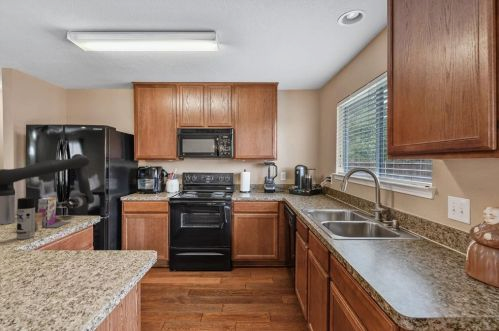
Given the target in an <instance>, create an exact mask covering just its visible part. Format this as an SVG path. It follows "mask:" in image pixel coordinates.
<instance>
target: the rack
mask: <svg viewBox="0 0 499 331" xmlns="http://www.w3.org/2000/svg"><path fill="white" fill-rule="evenodd" d="M62 220H63V218H62V217H56V221H55V223H57V222H63V221H62ZM55 223H54V224H55ZM36 232H38V224H35V233H36Z"/></svg>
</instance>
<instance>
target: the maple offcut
mask: <svg viewBox="0 0 499 331" xmlns="http://www.w3.org/2000/svg"><path fill="white" fill-rule="evenodd" d="M35 224H38V230H41V228H42V229H43V227H42V221H39V222H36V223H35Z"/></svg>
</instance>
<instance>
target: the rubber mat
mask: <svg viewBox="0 0 499 331" xmlns="http://www.w3.org/2000/svg"><path fill="white" fill-rule="evenodd" d="M70 223H71V221H62V222H57V223H54V224H52V225H49V226H46V227H44V229H59V228H60V227H63V226H65V225H68V224H70Z"/></svg>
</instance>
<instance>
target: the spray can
mask: <svg viewBox="0 0 499 331" xmlns="http://www.w3.org/2000/svg"><path fill="white" fill-rule="evenodd" d="M16 202H17V205H16V207H17V208H16V209H17V210H16V239H17V240H29V239H32V238H34V237H35V233H36V232H35V213H36V198H35V196H34V197H33V196H32V197H31V196H30V197H19V198H17V201H16Z"/></svg>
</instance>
